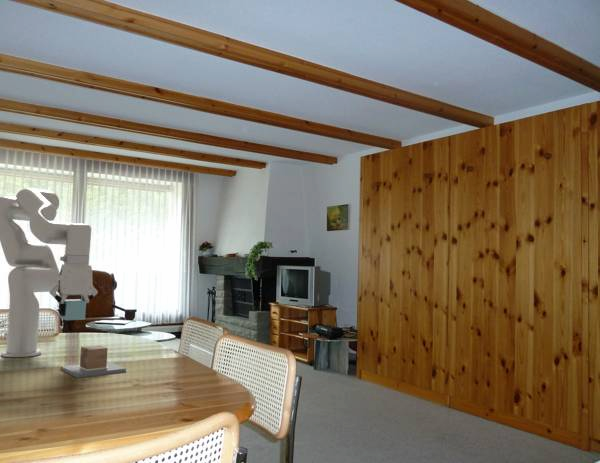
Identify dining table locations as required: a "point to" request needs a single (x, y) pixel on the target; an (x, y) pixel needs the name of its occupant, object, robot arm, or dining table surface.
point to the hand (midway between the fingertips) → (72, 314)
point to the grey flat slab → (92, 370)
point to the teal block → (74, 309)
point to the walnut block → (93, 357)
